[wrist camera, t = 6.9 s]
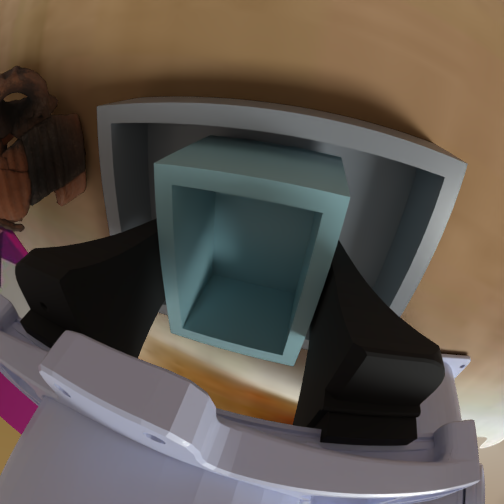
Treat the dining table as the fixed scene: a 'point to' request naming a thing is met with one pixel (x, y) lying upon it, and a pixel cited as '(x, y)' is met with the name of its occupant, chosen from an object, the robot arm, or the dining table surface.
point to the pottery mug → (36, 148)
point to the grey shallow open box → (305, 137)
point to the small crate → (247, 241)
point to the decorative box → (4, 282)
